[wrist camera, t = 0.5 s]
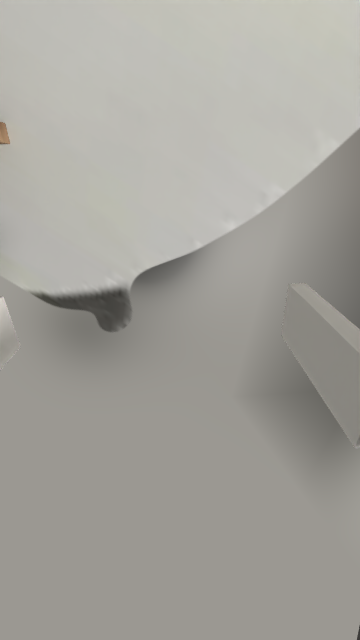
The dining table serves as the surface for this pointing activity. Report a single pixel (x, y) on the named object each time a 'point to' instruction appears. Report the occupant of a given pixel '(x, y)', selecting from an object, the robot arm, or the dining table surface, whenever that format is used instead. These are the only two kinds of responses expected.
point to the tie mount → (3, 134)
